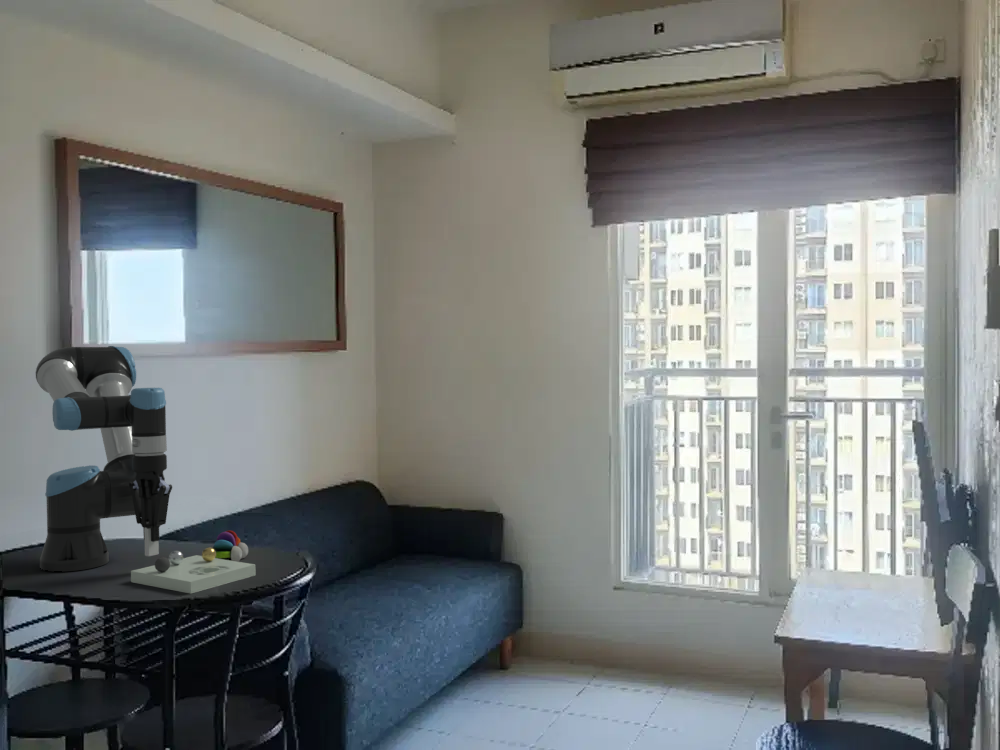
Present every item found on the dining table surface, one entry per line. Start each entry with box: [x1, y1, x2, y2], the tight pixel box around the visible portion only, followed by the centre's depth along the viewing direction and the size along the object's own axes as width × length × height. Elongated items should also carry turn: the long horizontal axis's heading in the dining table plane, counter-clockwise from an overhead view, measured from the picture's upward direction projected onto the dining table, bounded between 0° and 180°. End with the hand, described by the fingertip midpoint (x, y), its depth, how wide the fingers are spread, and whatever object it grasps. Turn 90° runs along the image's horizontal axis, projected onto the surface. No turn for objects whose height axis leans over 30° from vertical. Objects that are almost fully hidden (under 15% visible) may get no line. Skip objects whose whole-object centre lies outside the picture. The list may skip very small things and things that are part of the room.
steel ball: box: [168, 550, 185, 565], centre depth 209 cm, size 3×3×3 cm
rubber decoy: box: [154, 556, 170, 572], centre depth 202 cm, size 3×3×3 cm
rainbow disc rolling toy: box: [209, 530, 249, 562], centre depth 224 cm, size 8×10×7 cm
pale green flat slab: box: [130, 554, 257, 594], centre depth 206 cm, size 20×18×2 cm
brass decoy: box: [201, 546, 216, 562], centre depth 212 cm, size 3×3×3 cm
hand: (151, 554), depth 213 cm, fingers closed
